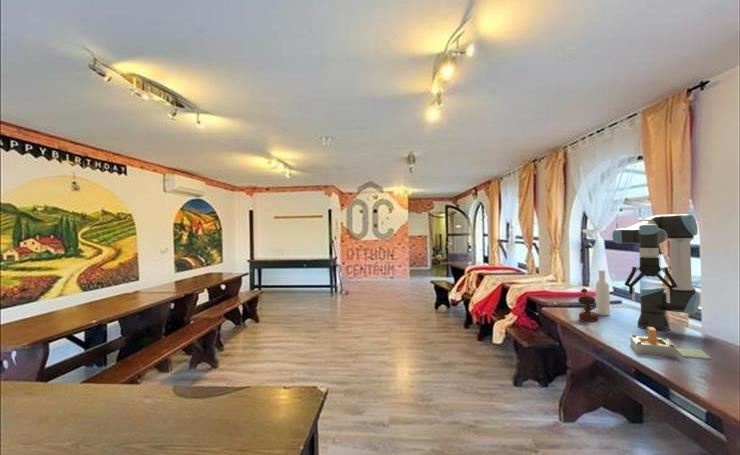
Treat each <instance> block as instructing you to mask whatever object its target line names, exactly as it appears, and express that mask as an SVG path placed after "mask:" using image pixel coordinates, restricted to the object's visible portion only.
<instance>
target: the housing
mask: <svg viewBox="0 0 740 455" xmlns="http://www.w3.org/2000/svg"><path fill="white" fill-rule="evenodd" d="M629 336H630V337H629V338H630V346H631V347H632V349H633V351H635V353H636V355H648V356H658V357H669V358H677V357H678V356H677V353H678V352H677V351H676V348H677V346H676V345H674V343H673V342H672V341H671V340H670V339H669V338H667V337H665V336H662V337H657V342H659V343H662V344H663V345H662V344H650V343H642V342H643V341H648V336H638V335H636V334H632V335H629Z"/></svg>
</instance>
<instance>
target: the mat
mask: <svg viewBox="0 0 740 455" xmlns="http://www.w3.org/2000/svg"><path fill="white" fill-rule="evenodd" d="M676 351H677V353H678V354H679V355H680V356H681V357H682V358H691V359H700V360H701V359H703V360H712V357H710V356H709V355H708V354H707V353H706V352H705V351H703V350H702V349H692V348H691V349H690V348H679V347H676Z"/></svg>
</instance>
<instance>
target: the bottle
mask: <svg viewBox="0 0 740 455" xmlns="http://www.w3.org/2000/svg"><path fill="white" fill-rule="evenodd" d="M595 303H596V308H595V311H596V312H595V313H597V314H599V315H598V316H603V315H608V316H610V315H611V310H610V309H611V307H610V306H611V303H610V284H609V282H608V281H607V280H606V269H600V268H599V269H598V280H597V281H596V283H595Z"/></svg>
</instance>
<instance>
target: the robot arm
mask: <svg viewBox="0 0 740 455" xmlns="http://www.w3.org/2000/svg"><path fill="white" fill-rule="evenodd" d="M698 233H699V232H698V223H697V220H696V218H695V216H694V215H692V214H689V213H677V214H657V215H652V216H650V217H649V216H648V217H646V218H644V219H643V218H642V219H641V220H640V221H639V222H638V223H636V224H633V225H631V226H628V227H626V228H615V229H614V230H612V241H613V242H614V244H620V245H622V244H639V256H640V257H639V266H638V267H637V266H632V267H631V271H630V274H629V276H628V277H627V279H626V280H625V282H624V286H626V287H628V290H629V291H628V293H629V295H631V301H632V302H636V294H635V293H636V291H635V287H634V286H635V285H636V284H637V283H638V282H639V281H640V280H641V279H642V278H644V277H651V278H653V277H657V278H658V279H659V280H660V281H661V282H662V283H663V284H664V285H665V286H666V287H664V286H649V287H642V288H641V289H640V290H639V291H640V292H639V293H640V294H639V299H640V300H639V301H640V314H639V317H638V320H637V327H638V328H640V329H646V330H647V327H654V328H655V329H656V331H670V329H671V325H670V322H669V321H668V317H667V312H674V313H680V314H681V313H682V314H696V313H697V311H698V310H699V306H700V301H701V294H700V293H699V292H698V291H696V288H695V287H694V286H693V285H692V281H693V280H692V260H691V258H692V257H691V256H692V255H691V253H692V252H691V241H692V240H694V236H697V235H698ZM666 240H668V241H669V244H670V245H669V246H670V266H671V268H670V269H671V271H670V272H671V274H670V272H669V268H668V267H667V266H664V267H660V258H659V256H660V248H659V247H660V246H659V245H660V244H663V243H664V242H666ZM638 271H639V272H640V273H639V274H638V275H637V276H636V277H635V279H634V280H633V278H634V275H635V274H636V272H638ZM660 272H663V273H664V275H665V276H666V277H667V280H668V281H669V282H668V281H667V280H666V279H665V278H664V277H663V276H662V275H661V274H660Z"/></svg>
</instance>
